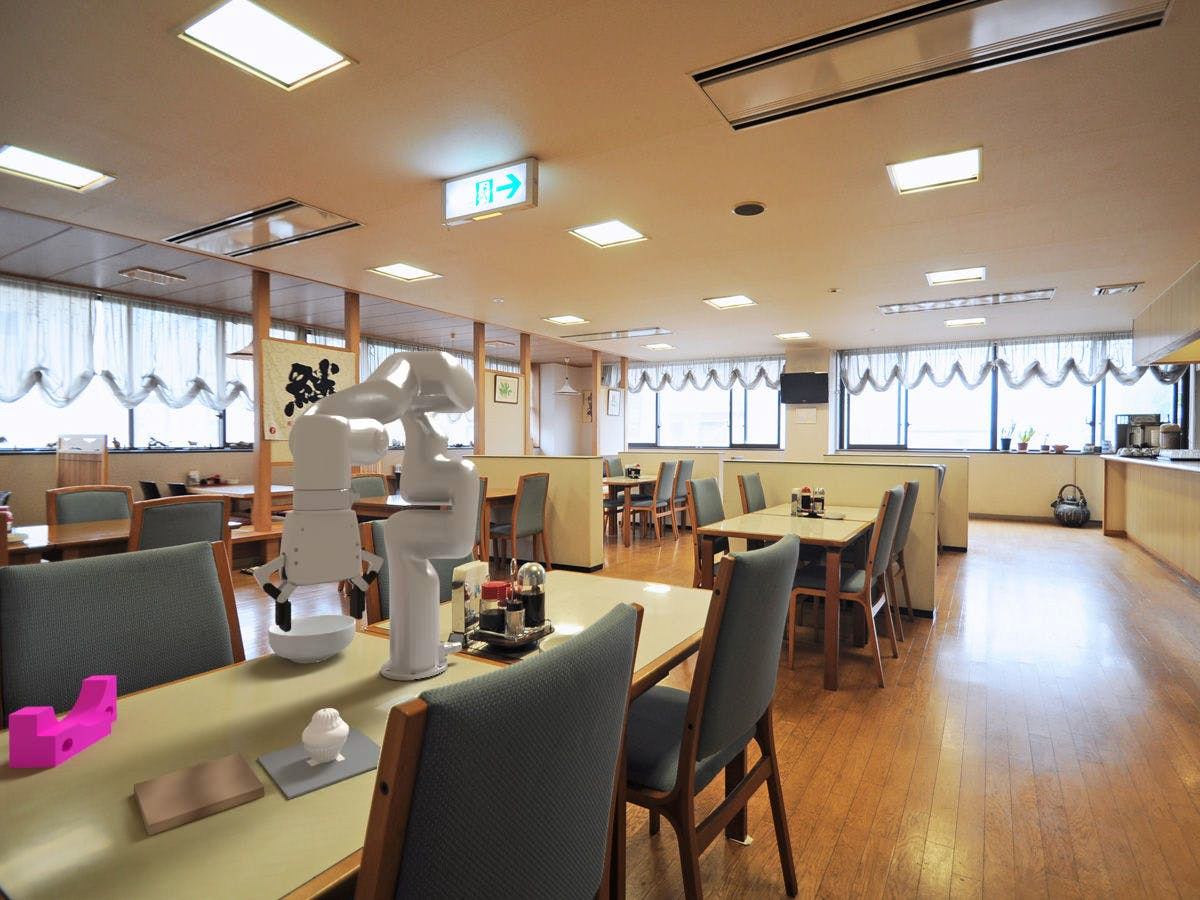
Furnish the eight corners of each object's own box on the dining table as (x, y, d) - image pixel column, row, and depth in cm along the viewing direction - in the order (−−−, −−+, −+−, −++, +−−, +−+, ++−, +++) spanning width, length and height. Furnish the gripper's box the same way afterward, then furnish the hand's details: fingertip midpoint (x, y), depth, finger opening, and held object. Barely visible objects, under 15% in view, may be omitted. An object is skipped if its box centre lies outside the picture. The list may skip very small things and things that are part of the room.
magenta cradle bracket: (55, 768, 87) (55, 714, 87) (9, 769, 87) (8, 714, 87) (132, 721, 102) (132, 675, 102) (93, 721, 102) (92, 675, 102)
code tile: (355, 728, 99) (355, 726, 99) (395, 761, 89) (395, 759, 89) (257, 759, 89) (257, 756, 89) (288, 799, 79) (288, 796, 79)
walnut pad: (239, 761, 89) (239, 752, 89) (264, 795, 80) (264, 786, 80) (133, 793, 81) (133, 784, 81) (148, 835, 72) (148, 825, 72)
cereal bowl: (372, 649, 138) (372, 617, 138) (315, 675, 122) (315, 639, 122) (311, 641, 144) (311, 610, 144) (248, 665, 128) (248, 630, 128)
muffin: (291, 765, 87) (291, 714, 87) (322, 745, 93) (322, 697, 93) (329, 771, 85) (328, 720, 85) (358, 750, 91) (358, 702, 91)
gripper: (372, 498, 98) (371, 609, 98) (247, 503, 86) (246, 629, 86) (392, 500, 92) (392, 618, 92) (262, 506, 81) (261, 641, 81)
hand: (321, 623), depth 89 cm, fingers open, 9 cm apart
